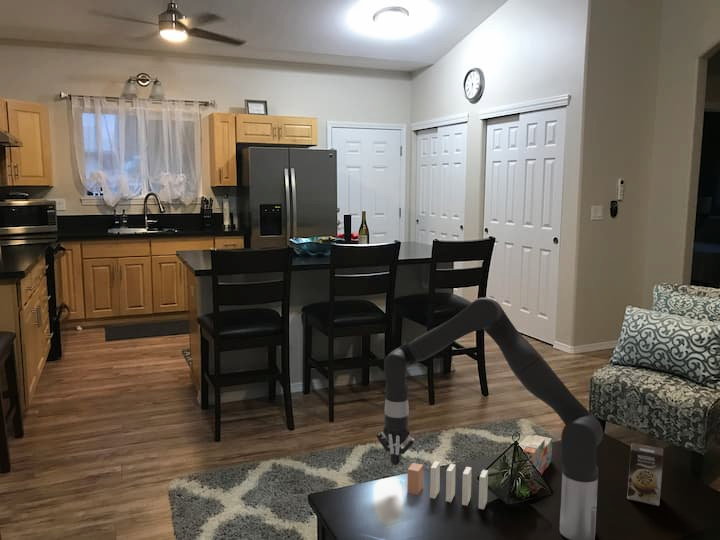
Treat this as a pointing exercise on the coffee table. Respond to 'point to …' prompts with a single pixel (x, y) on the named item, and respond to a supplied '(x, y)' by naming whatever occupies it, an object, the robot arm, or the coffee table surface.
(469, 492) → the domino
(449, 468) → the domino
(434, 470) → the domino
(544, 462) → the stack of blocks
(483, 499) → the domino
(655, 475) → the brown cookie box
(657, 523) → the coffee table surface
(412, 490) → the domino
